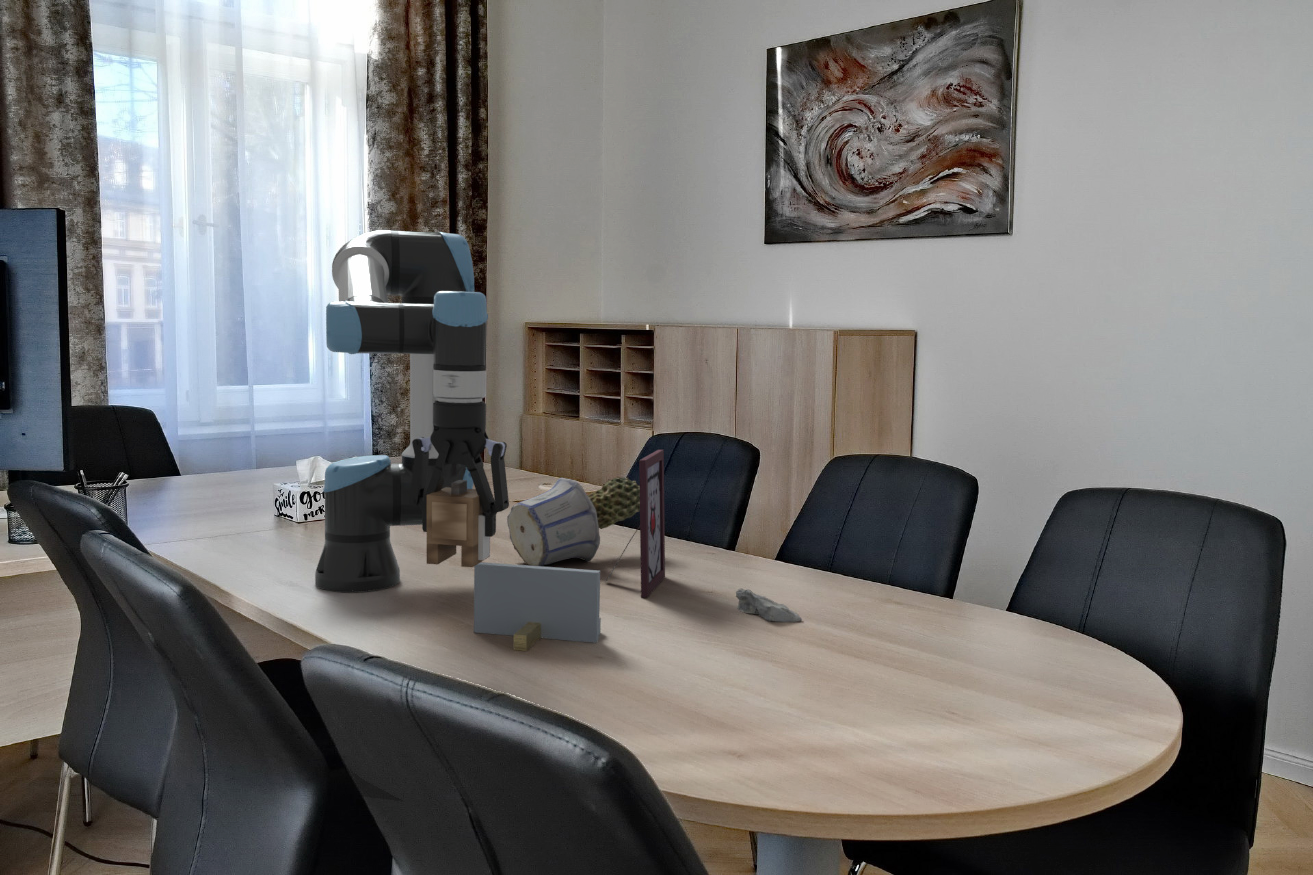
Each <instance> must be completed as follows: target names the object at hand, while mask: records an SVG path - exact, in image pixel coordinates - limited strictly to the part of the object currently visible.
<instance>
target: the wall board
mask: <svg viewBox="0 0 1313 875" xmlns="http://www.w3.org/2000/svg"><path fill="white" fill-rule="evenodd" d="M473 569H474V571H473V573H474V574H473V579H474V580H473V592H474V594H473V595H474V596H473V633H479V634H489V635H490V634H492V635H499V636H500V635H501V636H512V637H514V634H515V633H516V632H517V631H518V630H520V629H521V628H522V627H523V626H524V625H526V624H527V623H528V622H535V623H541V638H540V639H547V640H561V641H562V640H563V641H572V642H584V643H593V644H594V643H595V644H596V643H598V642H599V640H600V634H601V627H602V626H601V624H602V623H601V620H602V618H601V617H600V612H601V611H600V607H601V606H600V605H601V604H600V603H601V601H600V600H601V599H600V598H601V595H600V594H601V570H595V569H594V570H593V569H581V568H579V569H578V568H569V567H567V568H566V567H565V568H564V567H555V566H554V567H553V566H530V565H527V564H513V563H512V564H511V563H499V562H498V563H497V562H485V561H482V562H480V563H479V564H477V565H476V566H474V567H473Z"/></svg>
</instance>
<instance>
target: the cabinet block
mask: <svg viewBox="0 0 1313 875" xmlns="http://www.w3.org/2000/svg"><path fill="white" fill-rule="evenodd" d="M482 513H484V512H483V509H482V506H481V503H480V500H479V495H478V494H477V492H476V489H475V488H473V489H467V480H458V481H455V482H453V483H451V488H450V487H445V488H443V489H441V490H439V491H437V492H435V493H434V492H433V493H431V494H428V495H427V532H426V565H436V566H437V565H440V564H441V563H443V562H445V561H447V560H448V559H450V558H452V557H453V556H455V555H457V547H458V546H459V547H461V549H460V551H461V554H460V555H461V558H460V559H461V562H460V563H461V567H463V568H474V566H476V565H477V564H479V563H480V562H485V560H486V559H489V558H490V557H491V555H490V556H489V557H487V558H486V559H484V560H478V518H479V515H481V514H482Z"/></svg>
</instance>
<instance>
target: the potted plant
mask: <svg viewBox="0 0 1313 875" xmlns="http://www.w3.org/2000/svg"><path fill="white" fill-rule="evenodd" d="M636 513H640V484H637V481H636V480H631V479H629V478H628V477H619V476H616V477H614V478H613V479H612V478H611V479H610V478H608V480H607V481H606V482H605V483H603V484H602V486H601V489H600V488H599V489H597V490H595V491H593V492H591V493H589V494H587V492H586V491H585V489H584V487H583V486H582V485H581V483H579V481H577V480H574V479H572V478H565V477H560V478H558V479H557V480H556V482H555V483H554V484H553V486H552V487H551V488H550V489H549V490H547V491H545V492H543V493H541V494H538V495H536V496H535V495H534V496H533V497H530V498H527V499H524V500H521V501H519V502H517V503H515V504H514V505H513V506H512V507H511V509H510V512H509V513H508V514H507V519H506V520H507V522H506V523H507V527H508V532H509V539H510V541H511V543H512V544H511V545H512V546H513V548H514V550H515V551H516V553H517V554H518V555H519V558H521V559H522V561H523V562H524V563H525V565H528V566H542V567H545V566H547V565H551V564H553V563H554V564H555V563H556V562H560V561H564V560H568V559H571V558H572V559H573V558H574V559H575V558H578V559H582V560H583V561H586V562H592V560H593V559H594V557H595V555H596V554H597V551H598V550H599V547H600V544H601V535H600V530H603V529H607V528H609V527H610V526H612V525H614V524H616V523H617V522H621V521H625V520H626V519H629V518H632V517H633V516H635V515H636Z"/></svg>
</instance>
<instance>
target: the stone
mask: <svg viewBox="0 0 1313 875" xmlns="http://www.w3.org/2000/svg"><path fill="white" fill-rule="evenodd" d="M735 594H736V596H735V597H736V598H737V599H738V605H737V610H739V611H740V612H742V613H745V614H750V615H751V614H752V615H758V616H760V617H761V618H763V619H765V620H766V621H768V622H781V623H796V622H799V621H802V617H800V614H798V613H797V612H796V611H793V610H792V609H790V608H789V607H788V606H787V605H785V604H783V603H778V602H775V601H774V600H772V599H771V598H768V597H766V596H764V595H761V594H757V593H756V592H755V593H754V592H753V591H751V590H750V589H744V588H739V589H737V590H736V591H735Z"/></svg>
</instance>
